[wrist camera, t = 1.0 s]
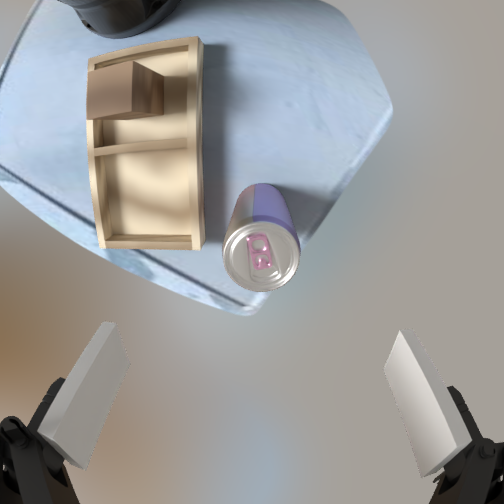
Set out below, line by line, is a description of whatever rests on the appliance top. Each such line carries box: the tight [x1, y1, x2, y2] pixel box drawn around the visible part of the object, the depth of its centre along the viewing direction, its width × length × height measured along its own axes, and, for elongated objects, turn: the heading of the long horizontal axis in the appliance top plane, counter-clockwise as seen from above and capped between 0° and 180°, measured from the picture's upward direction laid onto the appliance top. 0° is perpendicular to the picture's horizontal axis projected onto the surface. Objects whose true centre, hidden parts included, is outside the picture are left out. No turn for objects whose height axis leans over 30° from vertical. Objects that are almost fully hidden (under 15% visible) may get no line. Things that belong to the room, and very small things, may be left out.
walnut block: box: [87, 61, 164, 120], centre depth 24 cm, size 5×5×9 cm
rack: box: [86, 36, 206, 250], centre depth 30 cm, size 25×14×3 cm, turn 179°
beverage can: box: [222, 184, 301, 292], centre depth 27 cm, size 6×6×15 cm
